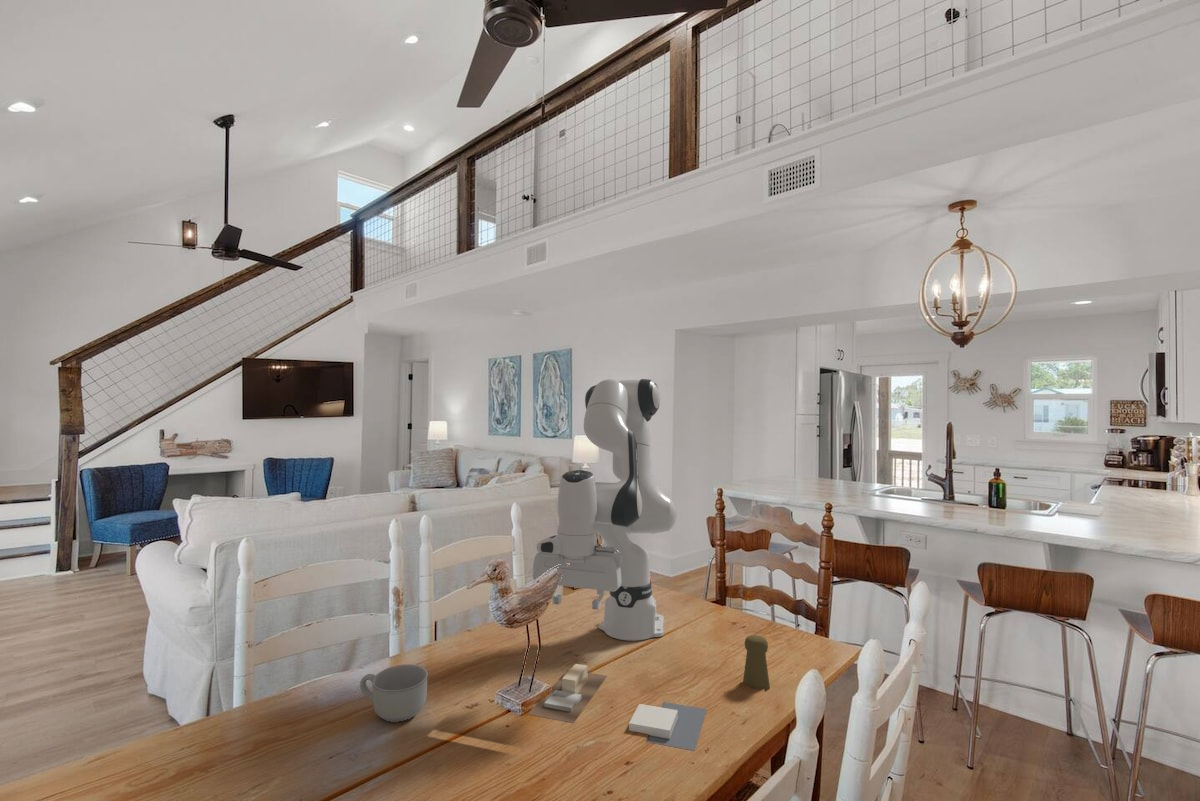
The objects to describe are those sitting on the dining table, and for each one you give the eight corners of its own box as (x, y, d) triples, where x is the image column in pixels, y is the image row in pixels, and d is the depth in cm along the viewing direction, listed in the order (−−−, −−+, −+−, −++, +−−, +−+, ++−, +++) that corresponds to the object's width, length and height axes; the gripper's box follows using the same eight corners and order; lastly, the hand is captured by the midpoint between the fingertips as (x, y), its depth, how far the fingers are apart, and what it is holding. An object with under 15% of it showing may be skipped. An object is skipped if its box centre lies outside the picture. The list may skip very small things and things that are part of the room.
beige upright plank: (569, 678, 135) (569, 662, 135) (593, 682, 133) (593, 666, 133) (544, 706, 122) (544, 689, 122) (571, 711, 120) (571, 694, 120)
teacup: (437, 707, 123) (438, 668, 123) (404, 733, 113) (405, 691, 113) (383, 696, 128) (383, 658, 128) (346, 720, 117) (347, 680, 118)
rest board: (567, 673, 139) (567, 669, 139) (607, 680, 136) (607, 675, 136) (527, 719, 118) (527, 714, 118) (573, 728, 115) (573, 722, 115)
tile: (639, 703, 120) (629, 723, 113) (677, 710, 118) (669, 730, 110) (639, 712, 120) (628, 732, 113) (677, 719, 118) (669, 739, 110)
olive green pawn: (770, 692, 131) (771, 643, 131) (743, 690, 132) (743, 640, 132) (768, 680, 137) (768, 633, 137) (742, 678, 138) (742, 631, 138)
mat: (623, 698, 128) (623, 695, 128) (706, 712, 122) (706, 709, 122) (600, 736, 112) (600, 733, 112) (694, 754, 107) (694, 750, 107)
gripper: (625, 544, 131) (625, 606, 131) (541, 537, 137) (540, 596, 137) (617, 551, 125) (617, 616, 125) (529, 543, 131) (529, 605, 131)
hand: (576, 606), depth 131 cm, fingers open, 8 cm apart
